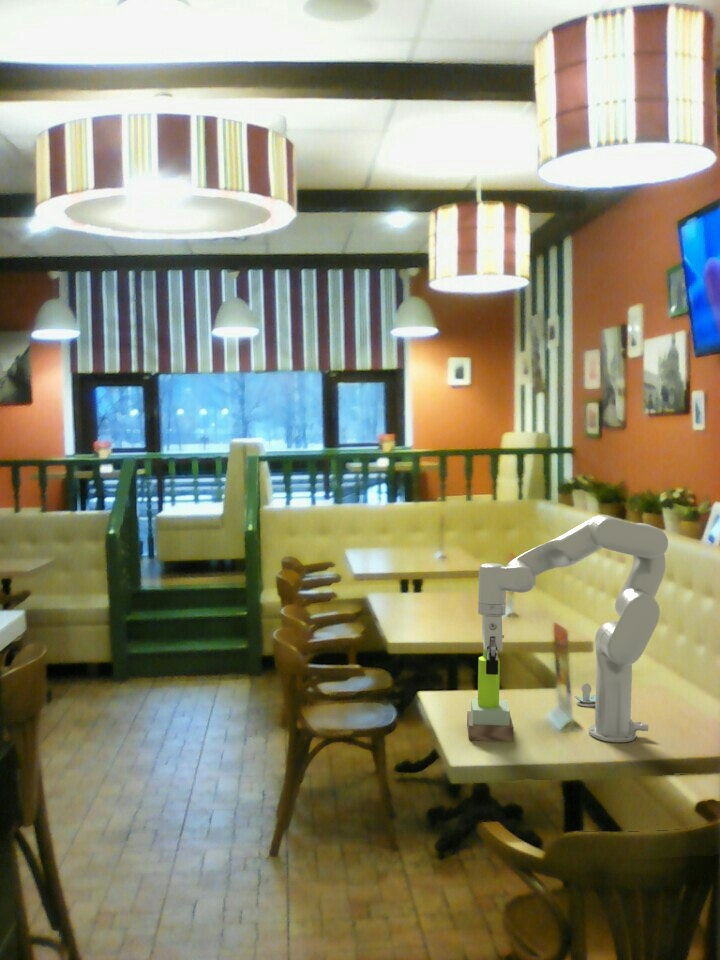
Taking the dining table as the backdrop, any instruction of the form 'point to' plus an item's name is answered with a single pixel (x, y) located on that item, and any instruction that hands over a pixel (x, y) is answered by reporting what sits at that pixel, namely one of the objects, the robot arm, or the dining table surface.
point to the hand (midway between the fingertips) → (490, 669)
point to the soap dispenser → (487, 684)
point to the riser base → (489, 731)
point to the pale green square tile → (490, 714)
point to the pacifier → (586, 697)
